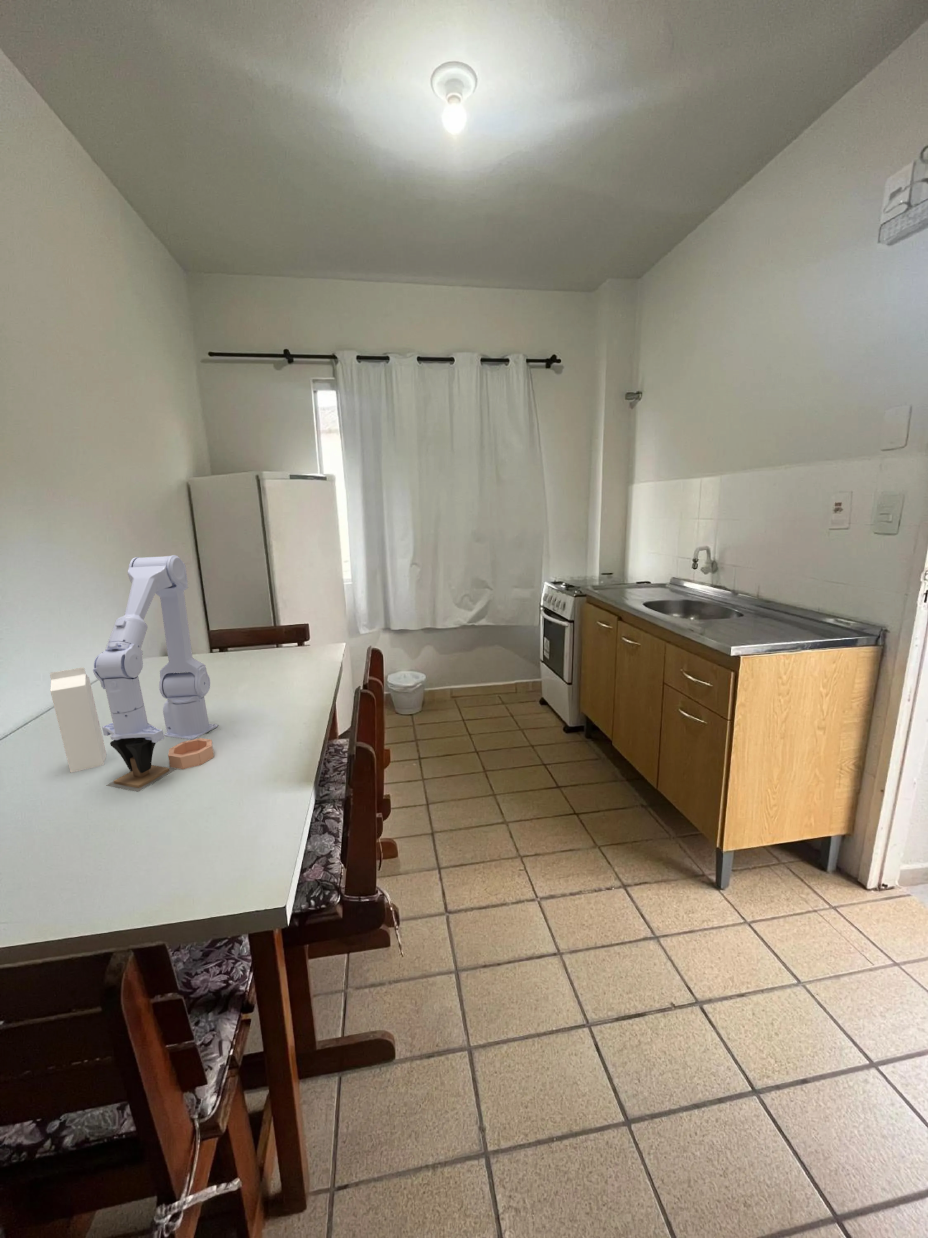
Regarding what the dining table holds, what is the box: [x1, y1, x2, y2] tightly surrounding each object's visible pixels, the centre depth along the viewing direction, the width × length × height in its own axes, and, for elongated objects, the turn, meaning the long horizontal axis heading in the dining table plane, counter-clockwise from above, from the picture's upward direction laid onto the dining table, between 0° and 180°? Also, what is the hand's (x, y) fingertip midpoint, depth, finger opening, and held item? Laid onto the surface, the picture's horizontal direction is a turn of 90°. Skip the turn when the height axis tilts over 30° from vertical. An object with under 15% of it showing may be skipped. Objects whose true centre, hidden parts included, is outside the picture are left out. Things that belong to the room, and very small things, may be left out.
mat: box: [105, 764, 178, 793], centre depth 106 cm, size 9×9×1 cm
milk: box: [49, 666, 108, 774], centre depth 111 cm, size 6×6×22 cm
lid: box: [112, 757, 170, 788], centre depth 105 cm, size 7×7×5 cm
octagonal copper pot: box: [167, 737, 215, 770], centre depth 112 cm, size 8×8×3 cm
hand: (140, 769), depth 105 cm, fingers open, 2 cm apart
